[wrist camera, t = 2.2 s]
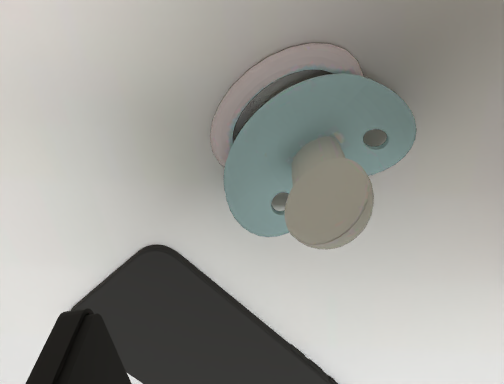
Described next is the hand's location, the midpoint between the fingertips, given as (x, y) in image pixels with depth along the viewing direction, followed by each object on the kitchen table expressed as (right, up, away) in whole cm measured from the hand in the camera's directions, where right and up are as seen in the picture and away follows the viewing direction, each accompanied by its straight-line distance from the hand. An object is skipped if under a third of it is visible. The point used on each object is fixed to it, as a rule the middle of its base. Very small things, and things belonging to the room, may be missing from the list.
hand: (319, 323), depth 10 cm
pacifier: (0, +6, +9) cm, 10 cm away
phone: (-3, -6, +15) cm, 16 cm away
